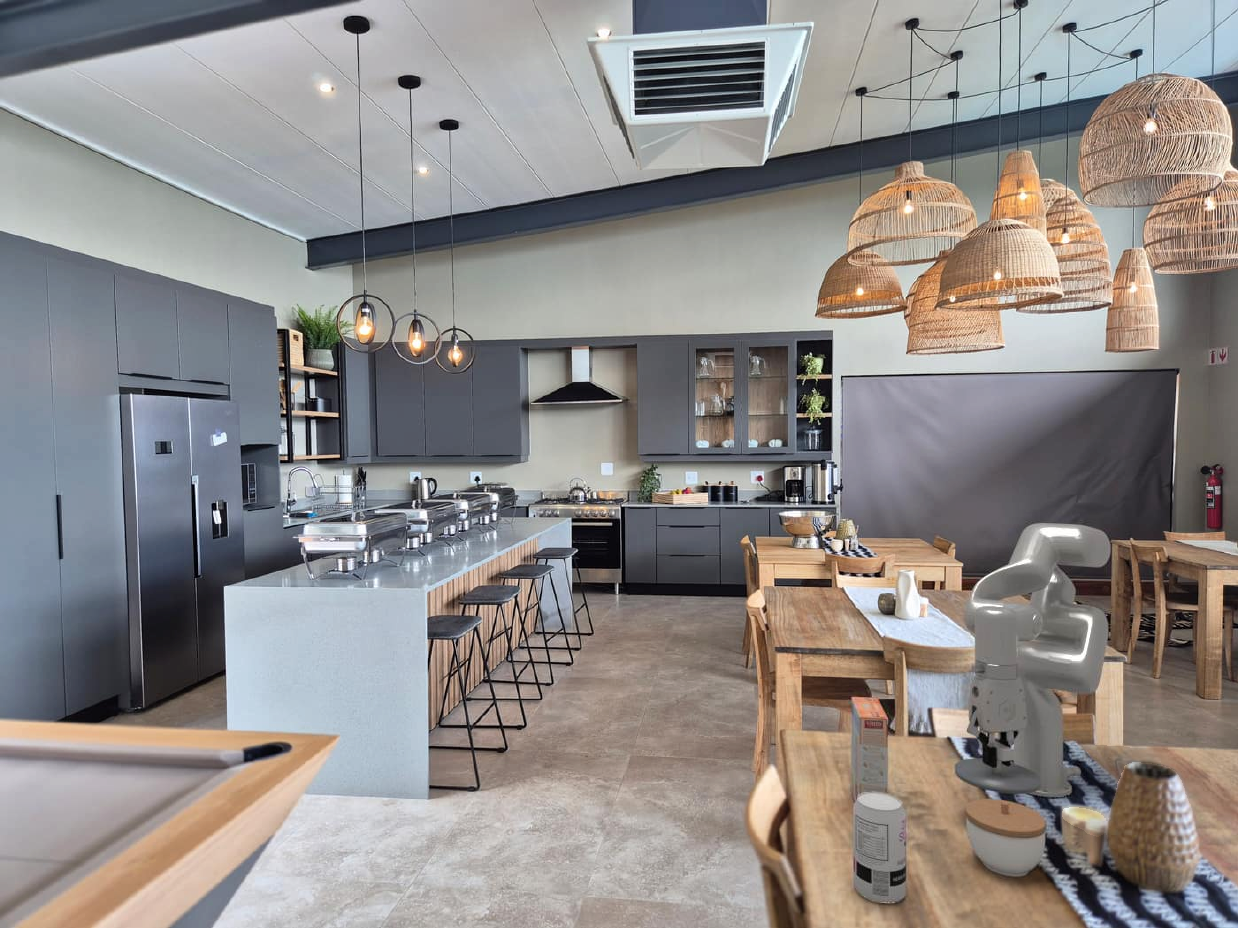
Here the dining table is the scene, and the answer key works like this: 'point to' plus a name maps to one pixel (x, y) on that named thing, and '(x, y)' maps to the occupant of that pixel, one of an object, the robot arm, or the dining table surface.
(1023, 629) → the robot arm
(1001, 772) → the lid
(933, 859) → the dining table surface
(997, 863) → the lidded bowl
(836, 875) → the dining table surface
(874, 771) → the cracker box
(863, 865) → the supplement can
